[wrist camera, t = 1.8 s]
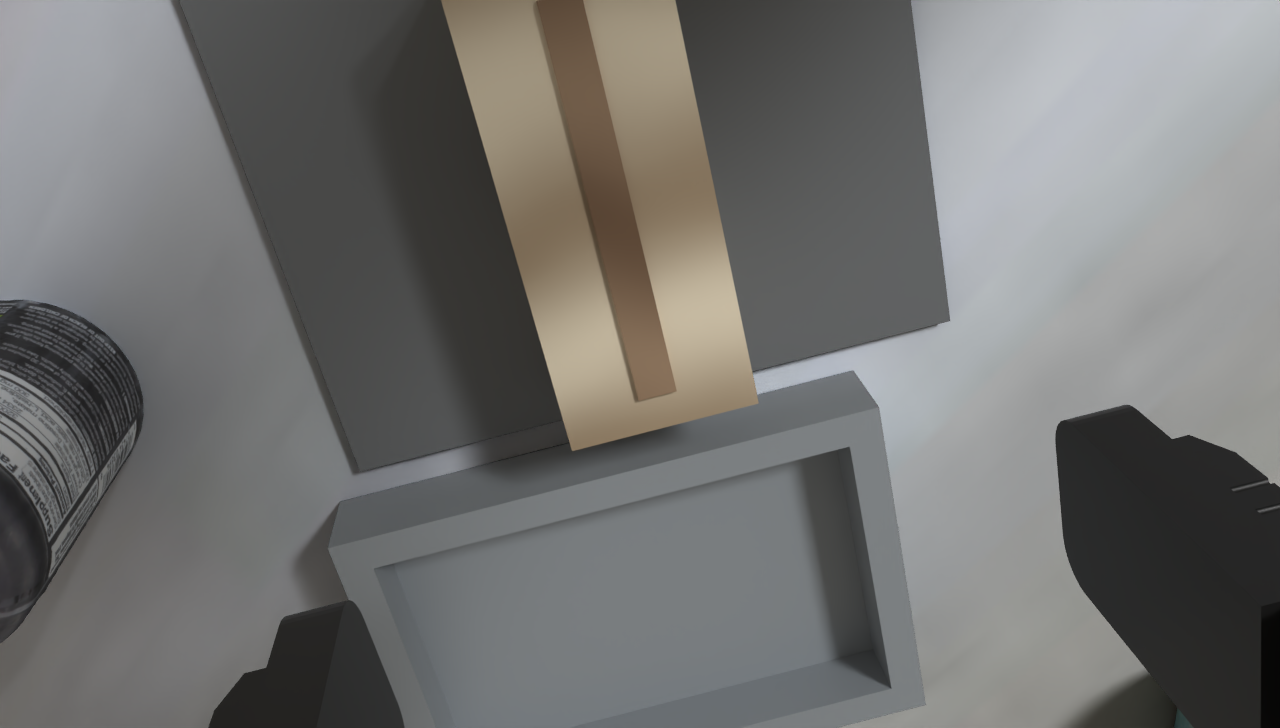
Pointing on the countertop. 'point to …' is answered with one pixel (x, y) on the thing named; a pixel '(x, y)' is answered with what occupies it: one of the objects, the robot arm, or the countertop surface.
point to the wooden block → (608, 208)
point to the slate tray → (649, 577)
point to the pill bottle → (55, 441)
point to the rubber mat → (474, 222)
